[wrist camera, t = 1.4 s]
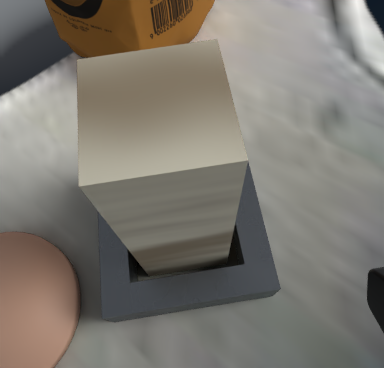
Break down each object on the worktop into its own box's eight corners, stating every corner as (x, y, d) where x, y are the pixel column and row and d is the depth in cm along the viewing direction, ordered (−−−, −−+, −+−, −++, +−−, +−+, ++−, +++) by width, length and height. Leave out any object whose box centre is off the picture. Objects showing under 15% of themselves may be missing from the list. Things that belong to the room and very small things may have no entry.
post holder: (272, 296, 20) (280, 289, 18) (114, 322, 20) (101, 318, 17) (239, 159, 24) (242, 139, 22) (106, 179, 24) (95, 161, 21)
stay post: (226, 263, 21) (248, 160, 10) (149, 276, 21) (78, 186, 9) (212, 193, 23) (217, 39, 11) (142, 204, 23) (76, 59, 11)
